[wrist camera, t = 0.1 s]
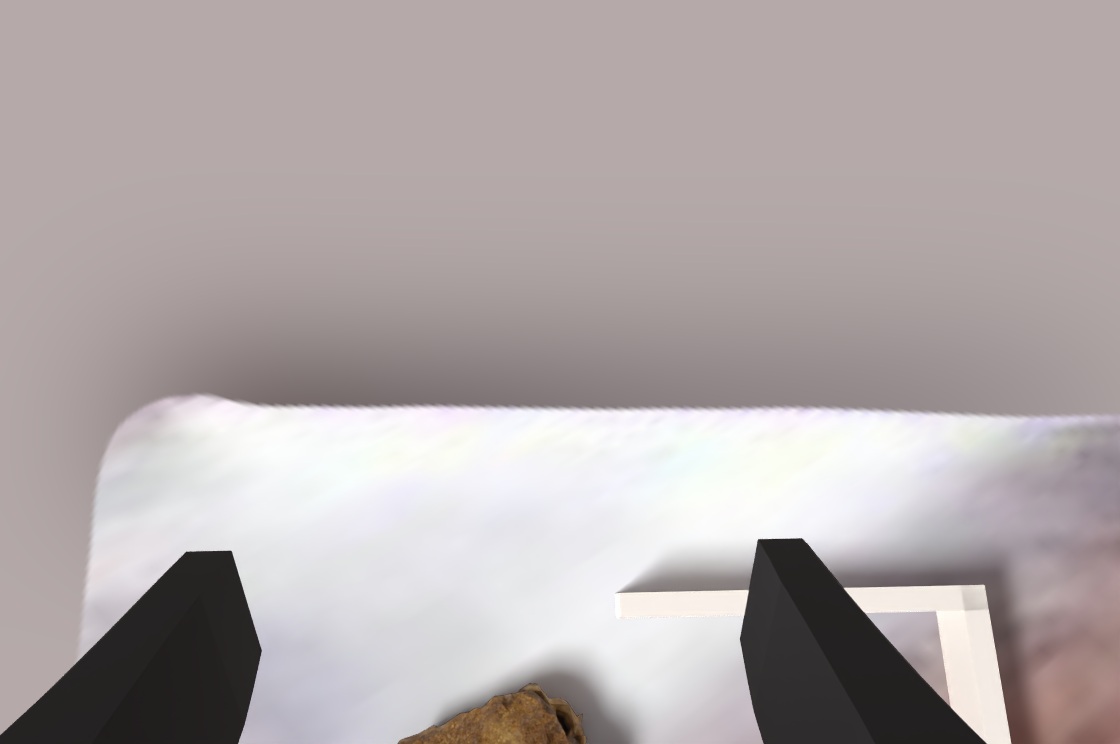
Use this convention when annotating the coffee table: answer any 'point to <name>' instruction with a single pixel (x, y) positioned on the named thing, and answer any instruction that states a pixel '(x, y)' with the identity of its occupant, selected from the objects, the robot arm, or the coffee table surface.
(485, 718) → the decorative rock
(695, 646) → the coffee table surface
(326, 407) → the coffee table surface
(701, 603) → the box
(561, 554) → the coffee table surface
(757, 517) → the coffee table surface
